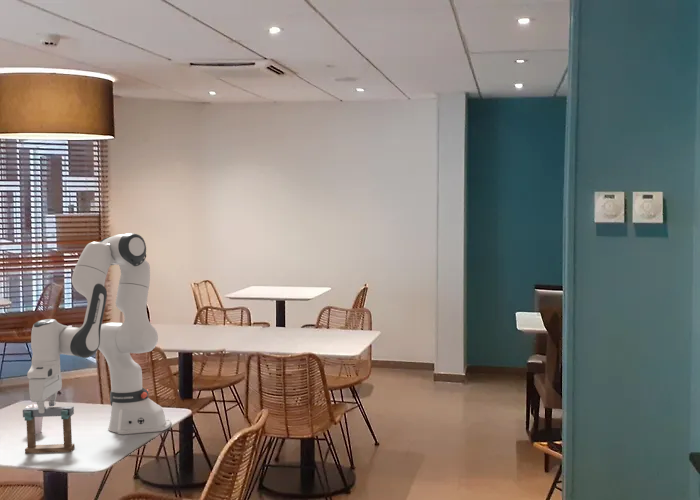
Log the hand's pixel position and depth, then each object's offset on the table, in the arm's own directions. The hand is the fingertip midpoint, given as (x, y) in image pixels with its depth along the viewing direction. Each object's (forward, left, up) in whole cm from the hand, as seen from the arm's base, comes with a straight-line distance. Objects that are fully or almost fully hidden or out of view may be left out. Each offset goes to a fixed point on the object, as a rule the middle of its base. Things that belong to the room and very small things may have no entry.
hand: (47, 409), depth 254 cm
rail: (0, 0, -2) cm, 2 cm away
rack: (0, 0, -14) cm, 14 cm away
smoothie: (+13, -23, -14) cm, 30 cm away
